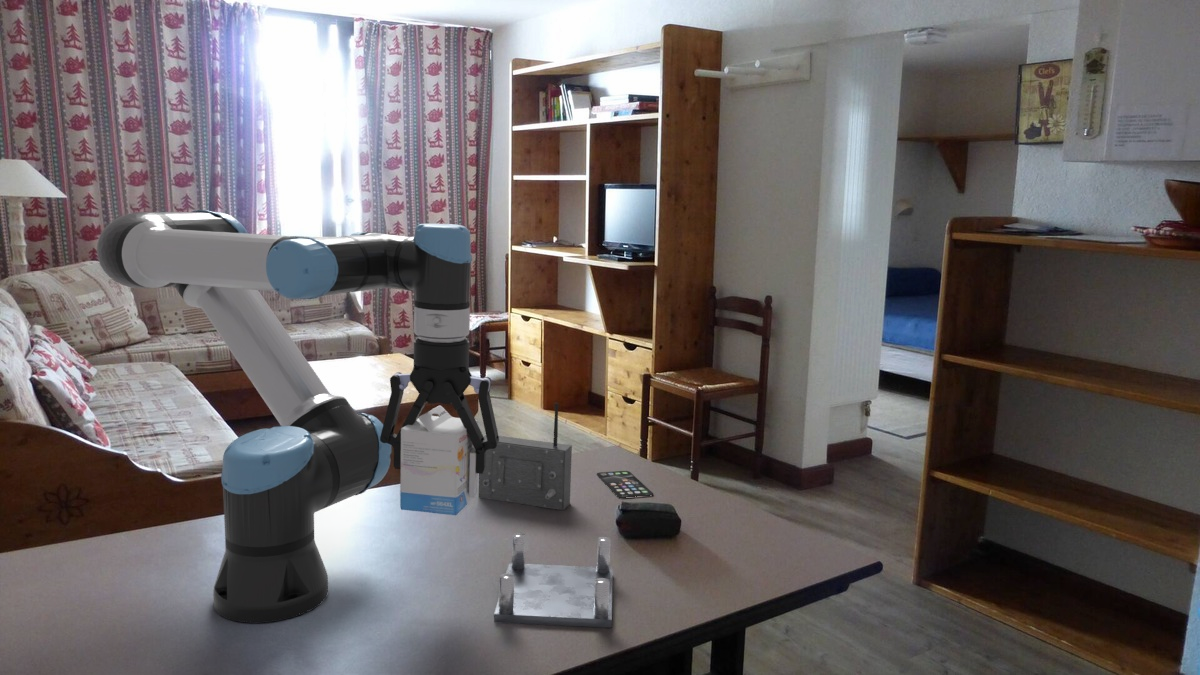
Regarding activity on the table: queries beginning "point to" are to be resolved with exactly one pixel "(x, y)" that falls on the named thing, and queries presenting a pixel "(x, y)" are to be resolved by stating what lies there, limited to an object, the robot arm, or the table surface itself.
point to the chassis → (556, 590)
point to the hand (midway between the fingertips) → (439, 492)
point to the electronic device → (528, 472)
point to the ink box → (435, 464)
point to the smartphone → (624, 484)
